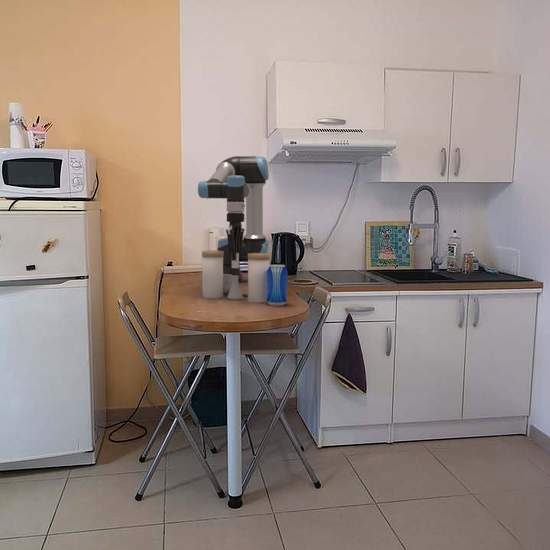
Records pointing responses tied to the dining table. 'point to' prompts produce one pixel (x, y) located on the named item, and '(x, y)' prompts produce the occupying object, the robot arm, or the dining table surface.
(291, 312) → the dining table surface
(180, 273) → the dining table surface
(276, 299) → the beer can
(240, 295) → the flask
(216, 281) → the canister left
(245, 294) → the kettle cord
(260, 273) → the canister right
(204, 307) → the dining table surface
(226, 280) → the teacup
